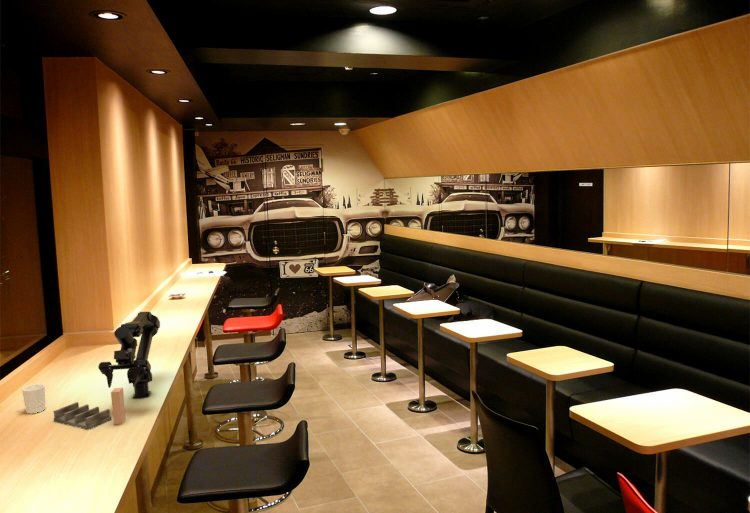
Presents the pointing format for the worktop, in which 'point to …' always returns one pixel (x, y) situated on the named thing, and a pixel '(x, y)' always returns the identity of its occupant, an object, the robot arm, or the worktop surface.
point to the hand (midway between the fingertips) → (121, 386)
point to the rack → (81, 416)
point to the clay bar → (118, 406)
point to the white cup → (34, 398)
